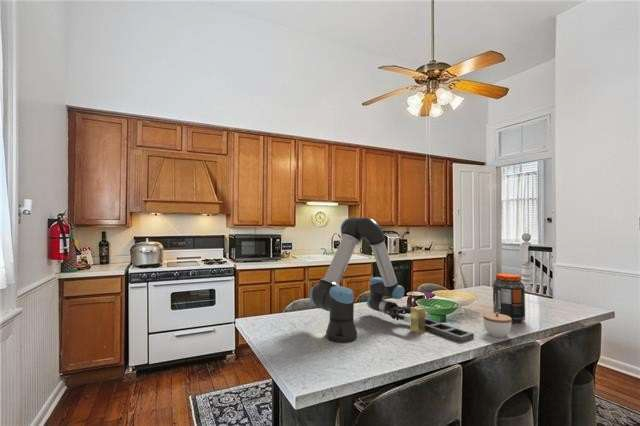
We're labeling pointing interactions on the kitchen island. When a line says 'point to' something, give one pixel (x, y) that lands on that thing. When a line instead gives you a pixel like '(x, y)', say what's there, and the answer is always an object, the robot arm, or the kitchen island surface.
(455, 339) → the dark grey slotted tray
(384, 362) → the kitchen island surface
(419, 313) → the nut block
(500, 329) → the lidded bowl
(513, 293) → the supplement tub
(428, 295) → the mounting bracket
